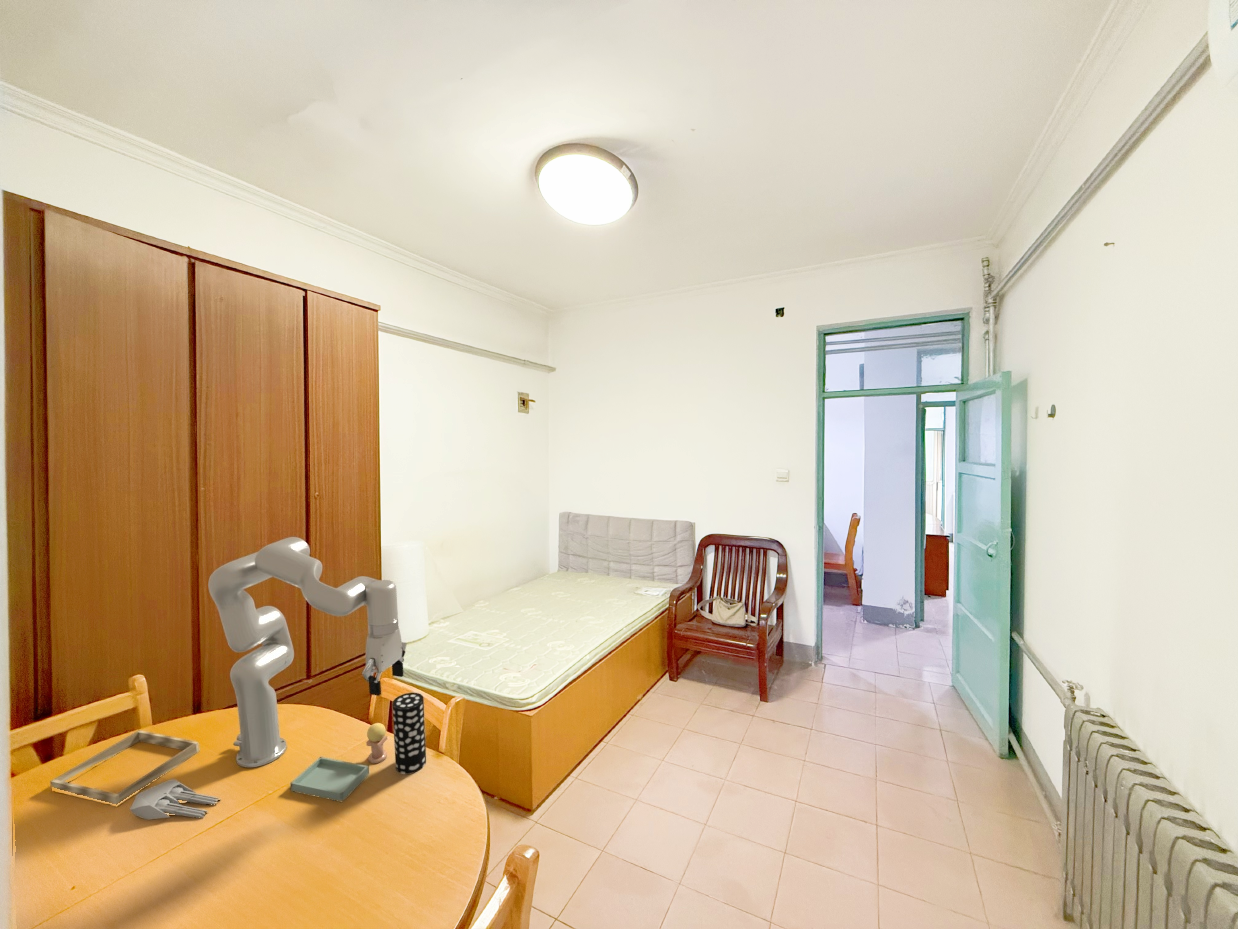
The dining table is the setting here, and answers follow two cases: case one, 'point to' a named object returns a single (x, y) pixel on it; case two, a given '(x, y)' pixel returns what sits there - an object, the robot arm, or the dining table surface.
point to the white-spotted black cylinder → (409, 733)
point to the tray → (330, 778)
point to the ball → (376, 732)
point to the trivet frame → (143, 736)
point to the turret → (169, 801)
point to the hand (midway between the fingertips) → (387, 685)
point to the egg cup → (377, 751)
